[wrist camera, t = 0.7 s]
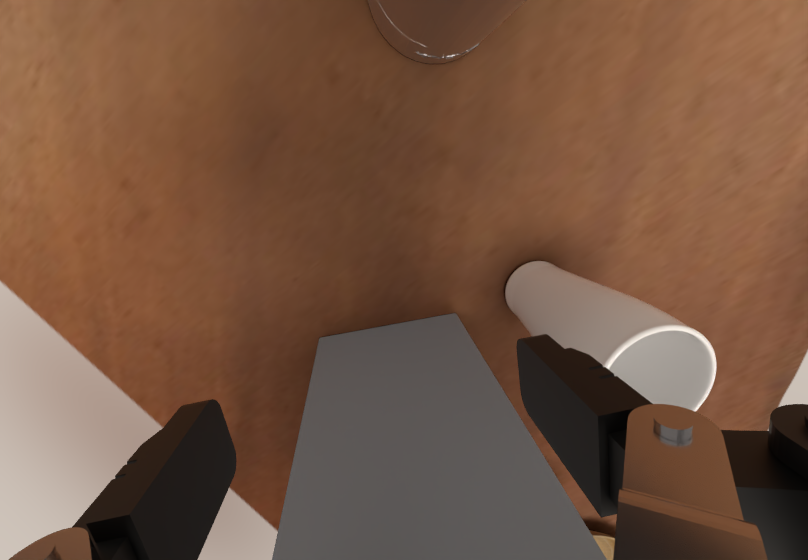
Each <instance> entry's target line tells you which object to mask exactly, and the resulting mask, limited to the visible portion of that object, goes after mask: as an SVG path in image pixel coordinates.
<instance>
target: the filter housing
mask: <svg viewBox="0 0 808 560" xmlns="http://www.w3.org/2000/svg"><path fill="white" fill-rule="evenodd" d="M272 560H607V559H606V557H605V555H604V554H603V552H602V551H601V549H600V547H599V546H598V544H597V542H596V541H595V539H594V538H593V536H592V534H591V533H590V531H589V529H588V528H587V526H586V525H585V523H584V521H583V520H582V518H581V516H580V515H579V513H578V511H577V510H576V508H575V507H574V505H573V503H572V502H571V500H570V498H569V497H568V495H567V494H566V492H565V490H564V489H563V487H562V485H561V484H560V482H559V480H558V479H557V477H556V476H555V474H554V472H553V471H552V469H551V467H550V466H549V464H548V463H547V461H546V459H545V458H544V456H543V454H542V453H541V451H540V449H539V448H538V446H537V445H536V443H535V441H534V440H533V438H532V436H531V435H530V433H529V432H528V430H527V428H526V427H525V425H524V423H523V422H522V420H521V419H520V417H519V415H518V414H517V412H516V410H515V409H514V407H513V405H512V404H511V402H510V401H509V399H508V397H507V396H506V394H505V392H504V391H503V389H502V388H501V386H500V384H499V383H498V381H497V379H496V378H495V376H494V374H493V373H492V371H491V370H490V368H489V366H488V365H487V363H486V361H485V360H484V358H483V357H482V355H481V353H480V352H479V350H478V348H477V347H476V345H475V343H474V342H473V340H472V339H471V337H470V335H469V334H468V332H467V330H466V329H465V327H464V326H463V324H462V322H461V321H460V319H459V317H458V316H457V314H456V313H452V314H447V315H441V316H436V317H430V318H425V319H419V320H414V321H408V322H403V323H398V324H392V325H387V326H381V327H376V328H370V329H365V330H359V331H354V332H348V333H343V334H338V335H332V336H327V337H321V338H319V342H318V347H317V352H316V356H315V361H314V366H313V370H312V375H311V380H310V384H309V389H308V394H307V398H306V403H305V408H304V412H303V417H302V422H301V427H300V431H299V436H298V441H297V445H296V450H295V455H294V459H293V464H292V469H291V473H290V478H289V483H288V487H287V492H286V497H285V501H284V506H283V511H282V515H281V520H280V525H279V530H278V534H277V539H276V544H275V548H274V553H273V558H272Z"/></svg>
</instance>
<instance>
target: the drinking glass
mask: <svg viewBox="0 0 808 560" xmlns="http://www.w3.org/2000/svg"><path fill="white" fill-rule="evenodd" d="M505 298H506V302H507V304H508V307H509V308H510V310H511V311H512V312H513V313H514V314H515V315H516V316H517V317H518V318H519V320H520V321H521V322H522V324H523V325H524V326H525V328H526V329H527V331H528V332H529V333H530V335H531V336H537V335H542V334H547V335H549V336H550V337H551V338H552V339H554V340H555V341H556V342H557V343H558V344H560V345H561V346H562V347H563V348H564V349H566V348H573V349H576V350H578V351H581V352H583V353H586V354H589V355H590V356H592V357H593V358H594V359H596V360H597V361H598V362H599V363H601V364H602V365H603V367H606V368H607V369H608V370H610V371H611V372H612V373H614V376H618V377H619V378H620V379H621V380H623V381H624V382H625V383H627V384H628V385H629V386H630V387H632V388H633V389H634V390H636V391H637V392H638V393H640V394H641V395H642V396H643V397H645V398H646V399H647V400H649V401H650V402H651V403H652V404H667V405H674V406H679V407H683V408H687V409H689V410H692V411H695V412H696V411H697V409H698V408H699V407H700V406H701V405H702V404H703V402H704V401H705V399H706V398H707V396H708V394H709V392H710V390H711V388H712V386H713V383H714V380H715V375H716V356H715V353H714V350H713V348H712V346H711V344H710V342H709V341H708V340H707V339H706V338H705V337H704V336H703V335H702V334H701V333H700V332H698V331H696V330H695V329H693V328H691V327H689V326H688V325H686V324H685V323H683V322H681V321H679V320H678V319H676V318H674V317H673V316H671V315H669V314H667V313H665V312H663V311H662V310H660V309H658V308H656V307H654V306H652V305H650V304H648V303H646V302H644V301H641V300H639V299H637V298H635V297H632V296H630V295H627V294H625V293H622V292H620V291H617V290H614V289H612V288H609V287H606V286H604V285H601V284H599V283H596V282H593V281H591V280H588V279H586V278H583V277H580V276H578V275H575V274H573V273H570V272H568V271H565V270H563V269H560V268H559V267H557V266H555V265H553V264H551V263H549V262H545V261H533V262H529V263H526V264H524V265H522V266H520V267H519V268H518V269H517V270H515V271H514V273H513V274H512V275H511V276H510V278H509V280H508V282H507V285H506V289H505Z"/></svg>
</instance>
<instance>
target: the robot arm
mask: <svg viewBox="0 0 808 560" xmlns="http://www.w3.org/2000/svg"><path fill="white" fill-rule="evenodd" d="M525 1H526V0H368V4H369V7H370V11H371V14H372V17H373V20H374V21H375V23H376V25H377V27H378V29H379V30H380V32H381V34H382V35H383V36H384V38H385V39H386V40H387V41H388V42H389V44H390V45H391V46H392V47H394V48H395V49H396V50H397V51H399V52H400V53H401V54H402V55H404V56H406V57H408V58H410V59H413V60H415V61H418V62H423V63H427V64H442V63H446V62H450V61H454V60H456V59H458V58H460V57H462V56H464V55H466V54H468V53H469V52H470V51H471V50H472V49H473V48H475V47H477V46H478V45H479V44H480V42H481V41H482V40H483V39H484V38H486V37H487V36H488V35H489V34H490V33H492V32H493V31H494V30H495V29H496V28H497V27H498V26H499V25H500V24H501V23H502V22H504V21H505V20H506V19H507V18H508V17H509V16H510V15H511V14H512V13H513V12H514V11H516V10H517V9H518V8H519V7H520V6H521V5H522V4H523V3H524V2H525ZM517 357H518V368H519V379H520V389H521V396H522V400H523V403H524V406H525V408H526V410H527V412H528V414H529V416H530V417H531V419H532V420H533V421H534V423H535V424H536V426H537V427H538V428H539V430H540V431H541V433H542V434H543V436H544V437H545V438H546V440H547V441H548V443H549V444H550V445H551V447H552V448H553V450H554V451H555V453H556V454H557V455H558V457H559V458H560V460H561V461H562V463H563V464H564V465H565V467H566V468H567V470H568V471H569V472H570V474H571V475H572V477H573V478H574V480H575V481H576V482H577V484H578V485H579V487H580V488H581V489H582V491H583V492H584V494H585V495H586V497H587V498H588V499H589V501H590V502H591V504H592V505H593V506H594V508H595V509H596V511H597V512H598V514H599V515H600V516H601V517H605V516H610V515H614V514H617V521H616V533H615V544H614V556H613V560H808V405H805V404H793V405H785V406H781V407H778V408H776V409H775V410H774V411H772V413H771V416H770V425H769V431H734V430H720V429H719V427H718V426H717V425H716V424H715V423H714V422H712V421H711V420H710V419H708V418H707V417H705V416H703V415H701V414H699V413H697V412H695V411H692V410H689V409H687V408H683V407H679V406H674V405H667V404H652V403H651V402H650V401H649V400H647V399H646V398H645V397H643V396H642V395H641V394H640V393H638V392H637V391H636V390H634V389H633V388H632V387H630V386H629V385H628V384H627V383H625V382H624V381H623V380H621V379H620V378H619V377H618V376H614V373H612V372H611V371H610V370H608V369H607V368H606V367H603V365H602V364H601V363H599V362H598V361H597V360H596V359H594V358H593V357H592V356H590V355H589V354H586V353H583V352H581V351H578V350H576V349H573V348H566V349H564V348H563V347H562V346H561V345H560V344H558V343H557V342H556V341H555V340H554V339H552V338H551V337H550V336H549V335H547V334H542V335H537V336H532V337H527V338H522V339H519V340H518V341H517ZM235 470H236V453H235V448H234V445H233V442H232V439H231V436H230V433H229V430H228V427H227V424H226V421H225V419H224V416H223V413H222V410H221V407H220V405H219V403H218V402H217V401H216V400H213V399H212V400H207V401H202V402H197V403H192V404H187V405H183V406H181V407H180V408H179V409H178V410H177V412H176V413H175V414H174V415H173V417H172V418H171V419H170V420H169V422H168V423H167V424H166V425H165V427H164V428H163V429H162V430H160V431H159V432H157V433H156V434H155V435H154V436H152V437H151V438H150V439H148V440H147V441H146V442H145V443H143V444H142V445H141V446H140V447H139V448H138V450H137V451H136V452H135V453H134V454H133V456H132V457H131V458H130V459H129V460H128V461H127V465H124V466H123V467H122V469H121V470H120V471H119V472H118V473H117V474H116V476H115V477H116V478H115V479H113V480H111V482H110V483H109V484H108V485H107V486H106V488H105V489H104V490H103V491H102V492H101V494H100V495H99V496H98V497H97V499H95V501H94V502H93V503H92V504H91V505H90V507H89V508H88V509H87V510H86V511H85V513H84V514H83V515H82V516H81V517H80V519H79V520H78V521H77V522H76V523H75V525H74V526H73V527H72V528H68V529H63V530H60V531H57V532H54V533H52V534H50V535H47V536H45V537H43V538H41V539H39V540H37V541H35V542H34V543H32V544H31V545H29V546H27V547H26V548H24V549H23V550H21V551H19V552H18V553H17V554H15V555H14V556H13V557H11V558H10V559H9V560H197V559H198V557H199V554H200V552H201V550H202V548H203V546H204V543H205V541H206V539H207V536H208V534H209V532H210V530H211V527H212V525H213V523H214V520H215V518H216V516H217V514H218V511H219V509H220V507H221V504H222V502H223V500H224V498H225V495H226V493H227V491H228V488H229V486H230V484H231V482H232V479H233V477H234V474H235Z"/></svg>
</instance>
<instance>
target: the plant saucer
mask: <svg viewBox="0 0 808 560" xmlns="http://www.w3.org/2000/svg"><path fill="white" fill-rule="evenodd" d="M589 531H590V530H589ZM590 533H591V534H592V536H593V538H594V539H595V541H596V542H597V544H598V546H599V547H600V549H601V551H602V552H603V554H604V555H605V557H606V559H607V560H613V556H614V544H615V537H612V536H610V535H607V534H604V533H600V532H596V531H590Z"/></svg>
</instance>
